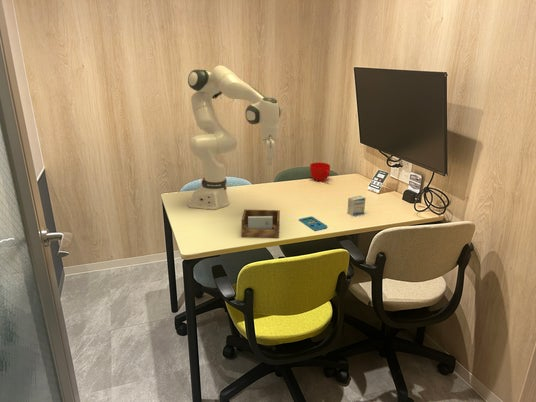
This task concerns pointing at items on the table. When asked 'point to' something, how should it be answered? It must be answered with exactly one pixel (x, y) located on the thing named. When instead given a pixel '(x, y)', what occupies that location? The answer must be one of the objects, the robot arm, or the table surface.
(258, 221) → the door
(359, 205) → the medicine box
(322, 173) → the ceramic cup
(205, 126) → the robot arm
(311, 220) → the handheld gaming device
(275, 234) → the wooden box
